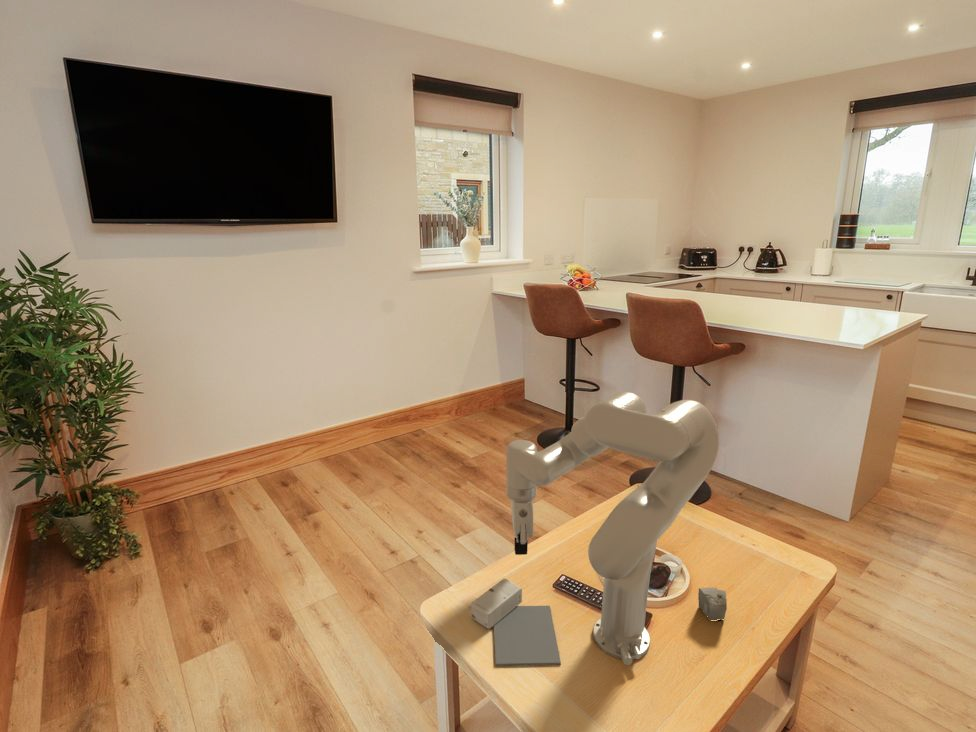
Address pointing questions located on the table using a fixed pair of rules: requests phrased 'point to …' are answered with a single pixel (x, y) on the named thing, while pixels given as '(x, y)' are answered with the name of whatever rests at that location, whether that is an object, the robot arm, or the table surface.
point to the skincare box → (496, 603)
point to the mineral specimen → (713, 602)
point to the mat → (526, 638)
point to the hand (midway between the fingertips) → (520, 552)
